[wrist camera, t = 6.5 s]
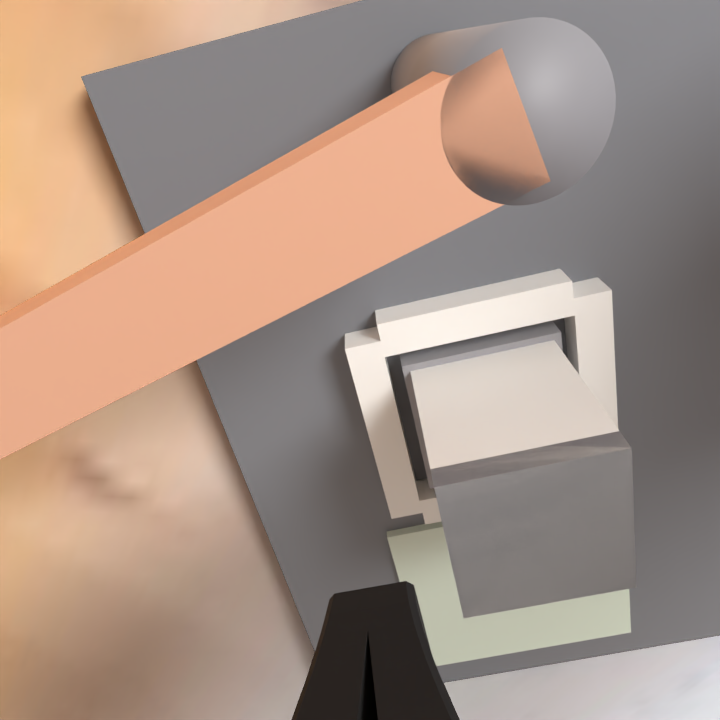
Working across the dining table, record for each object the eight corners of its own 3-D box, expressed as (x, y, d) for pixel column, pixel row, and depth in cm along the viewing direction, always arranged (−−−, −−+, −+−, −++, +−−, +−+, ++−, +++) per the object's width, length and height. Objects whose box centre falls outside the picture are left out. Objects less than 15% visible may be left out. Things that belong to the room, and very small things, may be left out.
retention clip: (488, 101, 14) (636, 155, 7) (47, 341, 17) (-176, 561, 10) (455, 15, 14) (584, -22, 6) (-4, 282, 16) (-290, 473, 9)
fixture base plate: (758, -105, 14) (821, -128, 12) (718, 612, 24) (747, 656, 23) (96, 74, 15) (63, 78, 13) (335, 678, 26) (334, 725, 24)
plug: (550, 317, 17) (642, 437, 12) (562, 441, 19) (645, 591, 14) (398, 350, 18) (422, 482, 12) (426, 468, 20) (456, 625, 14)
